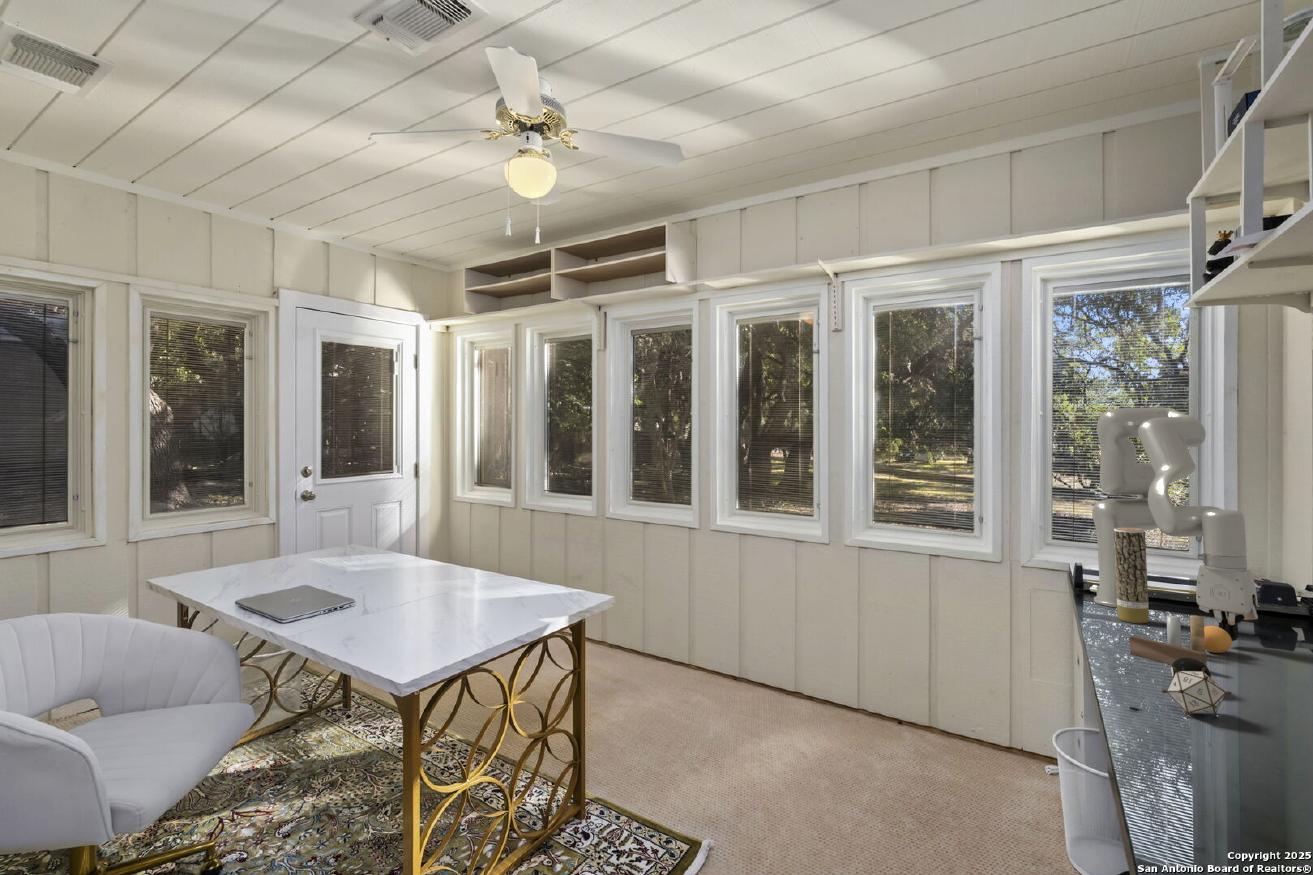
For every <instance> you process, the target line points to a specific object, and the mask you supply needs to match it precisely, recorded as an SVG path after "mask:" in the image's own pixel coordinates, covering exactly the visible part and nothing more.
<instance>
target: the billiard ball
mask: <svg viewBox="0 0 1313 875" xmlns="http://www.w3.org/2000/svg"><path fill="white" fill-rule="evenodd" d="M1170 666H1171V667H1170V674H1171V676H1172V678H1173V677H1174V675H1175V672H1176V671H1174V669H1173V667H1175V668H1176V669H1177V670H1178V671H1202V668H1204V667H1205V669H1206V670H1205V673H1206V674H1207V675H1208V676H1209V677H1210V678H1211V679H1212V673H1211V671H1210V669H1209V667H1208V665H1207V666H1206V665H1205V664H1204V663H1202V662H1200V661H1199V660H1196V659H1193V658H1180V659H1177V660H1175V661H1174V662H1173V664H1172V665H1170Z"/></svg>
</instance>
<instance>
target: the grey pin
mask: <svg viewBox="0 0 1313 875" xmlns="http://www.w3.org/2000/svg"><path fill="white" fill-rule="evenodd" d="M1181 630H1182V628H1181V617H1180V616H1176V615H1166V634H1167V635H1166V636H1167V637H1166V638H1167V644H1170V645H1175V646H1179V647H1182V634H1181V633H1182V632H1181Z"/></svg>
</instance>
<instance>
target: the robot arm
mask: <svg viewBox="0 0 1313 875" xmlns="http://www.w3.org/2000/svg"><path fill="white" fill-rule="evenodd" d="M1096 433H1097V434H1096V435H1097V437H1098V441H1099V446H1100V458H1099V459H1100V461H1099V462H1100V466H1099V467H1100V468H1099V485H1100V489H1101V490H1102V492H1104V493H1105V494H1108V495H1112V496H1114V495H1115V496H1129V495H1130V496H1137V498H1106V499H1103V500H1099V501H1098V502H1096V503H1095V504H1094V505H1093V507H1092V512H1091V513H1092V518H1093V523H1094V527H1095V531H1096V532H1095V533H1096V541H1097V558H1098V579H1099V580H1098V581H1099V583H1098V584H1099V585H1098V584H1093V585H1092V586H1090V587H1089V591H1090V592H1094V593H1096V596H1094V597H1093V602H1094V603H1096V604H1098V605H1101V606H1105V607H1110V608H1116V609H1117V591H1116V567H1115V544H1114V528H1138V529H1144V531H1153V530H1157V529H1159V530H1160V531H1161V532H1162V533H1163V534H1165V535H1167V536H1169V537H1177V538H1178V537H1179V538H1180V537H1184V538H1185V537H1200V538H1201V537H1202V548H1203V549H1202V550H1203V552H1202V554H1199V553H1198V554H1197V556H1196V557H1197V560H1199V561H1201V562H1202V563H1203V564H1201V565H1199V568H1198V574H1197V578H1196V588H1195V591H1196V592H1195V598H1196V600H1195V601H1196V604H1197V605H1198V609H1199V611H1203V612H1205V613H1208V614H1210V615H1211V616H1212V617H1213V618H1214V620H1215V622H1216V623H1217V624H1218V627H1219V628H1222V629H1223V630H1225V631H1226V632H1227V633H1228V634H1229V635H1230V637H1231V640H1232V642H1234V641H1237V639H1239V624H1241V623H1242V622H1243V621H1245V620H1246V621H1249V620H1250V621H1252V620H1253V621H1254V620H1258V618H1259V616H1258V614H1257V611H1258V606H1259V604H1258V596H1257V588H1256V584H1255V579H1254V576H1253V574H1252V571H1251V569H1248V560H1247V559H1248V558H1247V540H1246V539H1247V538H1246V522H1245V518H1246V517H1245V516H1244V514H1243V513H1242V512H1241V511H1238V510H1233V509H1224V508H1221V507H1216V506H1213V505H1212V506H1209V505H1208V506H1206V505H1205V506H1203V505H1200V506H1197V505H1194V506H1193V505H1185V506H1180V505H1179V506H1178V505H1176V506H1175V505H1174V503H1173V501H1172V499H1171V497H1170V495H1169V485H1170V484H1173V483H1175V482H1178V481H1180V480H1182V479H1184V478H1187V477H1189V476H1190V475H1192V474H1193V473H1194V472H1195V470H1196V466H1197V465H1196V463H1195V461H1194V459H1193V458H1192V454H1191V453H1190V451H1189V449H1191V448H1192V449H1193V448H1197V447H1199V446H1201V445H1202V444H1203V443H1204V442H1205V439H1206V437H1207V436H1206V435H1207V432H1206V429H1205V427H1204V424H1202V422H1201V421H1200V420H1199V419H1197V418H1196V417H1194V416H1193V415H1189V414H1187V413H1185V412H1181V411H1178V410H1175V409H1173V408H1169V407H1165V406H1164V407H1163V406H1160V407H1157V406H1156V407H1155V406H1154V407H1123V408H1122V407H1121V408H1113V409H1110V410H1107V411H1104V412H1103V413H1102V414H1101V415H1100V417H1099V418H1098V420H1097V424H1096ZM1130 438H1139V440H1140V443H1141V445H1142V447H1143V449H1144V452H1145V454H1146V456H1147V458H1148V460H1149V462H1137V449H1136V446H1135V444H1134V443H1133V441H1132V440H1131V439H1130Z"/></svg>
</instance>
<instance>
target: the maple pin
mask: <svg viewBox="0 0 1313 875" xmlns="http://www.w3.org/2000/svg"><path fill="white" fill-rule="evenodd" d="M1189 625H1190V626H1189V627H1190V646H1191V648H1190V649H1191V650H1195V651H1199V652H1203V653H1206V650H1205V633H1204V627H1205V617H1203V616H1199V615H1189Z"/></svg>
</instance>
